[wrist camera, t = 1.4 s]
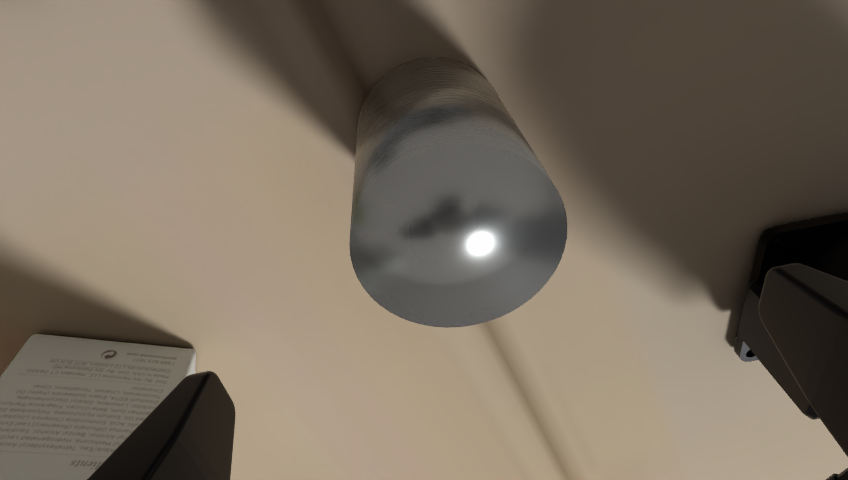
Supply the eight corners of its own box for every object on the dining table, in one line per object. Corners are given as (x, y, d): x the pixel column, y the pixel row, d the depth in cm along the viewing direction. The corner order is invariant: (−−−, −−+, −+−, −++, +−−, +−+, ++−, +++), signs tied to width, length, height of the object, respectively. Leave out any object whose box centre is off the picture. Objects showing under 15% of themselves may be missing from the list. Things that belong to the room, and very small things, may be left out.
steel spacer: (497, 43, 14) (564, 122, 9) (510, 184, 17) (569, 306, 12) (340, 74, 14) (322, 170, 9) (375, 209, 17) (377, 342, 12)
